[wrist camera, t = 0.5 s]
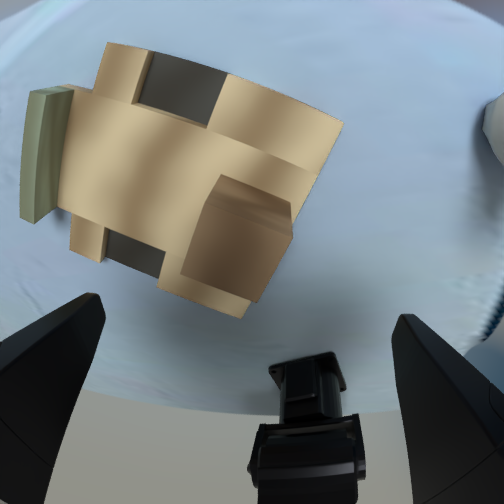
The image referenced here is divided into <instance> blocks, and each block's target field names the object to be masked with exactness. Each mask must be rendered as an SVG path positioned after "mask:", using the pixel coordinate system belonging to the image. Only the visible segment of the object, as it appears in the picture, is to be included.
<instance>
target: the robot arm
mask: <svg viewBox="0 0 504 504" xmlns="http://www.w3.org/2000/svg"><path fill="white" fill-rule="evenodd" d="M105 320H106V315H105V311H104V308H103V305H102V302H101V299H100V296H99V295H98V294H96V293H85V294H83V295H81V296H79V297H77V298H75V299H74V300H72V301H70V302H68V303H66V304H65V305H63V306H61V307H59V308H58V309H56V310H54V311H52V312H51V313H49V314H47V315H45V316H44V317H42V318H40V319H38V320H37V321H35V322H33V323H31V324H30V325H28V326H26V327H25V328H23V329H21V330H19V331H18V332H16V333H14V334H13V335H11V336H9V337H8V338H6V339H4V340H3V341H2V342H0V504H44V501H45V497H46V493H47V489H48V486H49V482H50V479H51V475H52V472H53V468H54V465H55V461H56V458H57V455H58V452H59V449H60V446H61V443H62V440H63V437H64V434H65V431H66V428H67V425H68V423H69V420H70V417H71V414H72V412H73V409H74V406H75V404H76V401H77V398H78V396H79V393H80V390H81V388H82V386H83V383H84V381H85V378H86V376H87V373H88V371H89V368H90V366H91V363H92V361H93V358H94V355H95V352H96V349H97V345H98V342H99V339H100V336H101V333H102V330H103V327H104V324H105ZM391 342H392V351H393V360H394V369H395V380H396V387H397V393H398V398H399V403H400V409H401V414H402V420H403V425H404V432H405V438H406V445H407V452H408V459H409V466H410V475H411V484H412V494H413V504H504V394H503V393H502V392H501V391H500V390H499V389H498V388H497V387H496V386H495V385H494V384H493V383H490V381H489V380H488V379H487V378H486V377H485V376H484V375H483V374H482V373H480V372H479V371H478V370H477V369H476V368H475V367H474V366H473V365H472V364H470V363H469V362H468V361H467V360H466V359H465V358H464V357H463V356H462V355H461V354H459V353H458V352H457V351H456V350H455V349H454V348H453V347H452V346H450V345H449V344H448V343H447V342H446V341H445V340H444V339H442V338H441V337H440V336H439V335H438V334H437V333H435V332H434V331H433V330H432V329H431V328H430V327H428V326H427V325H426V324H425V323H424V322H423V321H421V320H420V319H419V318H418V317H417V316H415V315H414V314H401V315H400V316H399V318H398V320H397V323H396V326H395V328H394V331H393V334H392V338H391ZM269 374H270V375H271V377H272V378H273V380H274V381H275V383H276V384H277V386H278V387H279V389H280V391H281V393H280V420H279V424H260V425H259V429H258V431H257V433H256V438H255V442H254V446H253V450H252V454H251V459H250V462H249V464H248V467H247V471H248V473H250V474H251V476H252V482H253V485H254V487H255V488H258V504H356V502H357V500H358V484H357V481H359V480H365V477H366V463H365V451H364V443H363V437H362V431H361V426H360V420H359V414H358V413H357V414H352V415H350V416H344V417H342V408H341V398H340V392H343V391H345V390H346V383H345V380H344V378H343V375H342V372H341V369H340V366H339V363H338V361H337V358H336V355H335V354H334V353H326V354H322V355H318V356H314V357H310V358H306V359H301V360H297V361H292V362H288V363H283V364H278V365H274V366H270V367H269Z"/></svg>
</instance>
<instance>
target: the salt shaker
mask: <svg viewBox="0 0 504 504" xmlns="http://www.w3.org/2000/svg"><path fill="white" fill-rule="evenodd" d="M482 130H483V132H484V133H485V135H486V137H487V139H488V141H489V143H490V146H491V148H492V150H493V152H494V154H495V156H496V157H497V158H498V159H499V161H500V162H501V163H502V165H503V166H504V93H503V94H501V95H500V96H499V97H498V98H497V99H496V100H494V101H493V102H491V103H489V104H487V105H486V109H485V115H484V121H483V127H482Z"/></svg>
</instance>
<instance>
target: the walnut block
mask: <svg viewBox="0 0 504 504" xmlns="http://www.w3.org/2000/svg"><path fill="white" fill-rule="evenodd" d="M292 239H293V232H292V217H291V203H290V202H289V201H286V200H284V199H282V198H279V197H277V196H275V195H272V194H270V193H267V192H265V191H262V190H260V189H258V188H255V187H253V186H250V185H248V184H245V183H243V182H240V181H238V180H235V179H233V178H230V177H228V176H225V175H223V174H221V175H220V177H219V178H218V180H217V182H216V183H215V185H214V187H213V189H212V190H211V192H210V194H209V195H208V197H207V199H206V201H205V202H204V205H203V208H202V211H201V214H200V216H199V219H198V222H197V225H196V228H195V231H194V234H193V236H192V239H191V242H190V245H189V248H188V251H187V254H186V257H185V260H184V263H183V266H182V269H181V272H180V274H181V275H183V276H186V277H188V278H191V279H194V280H196V281H199V282H201V283H204V284H207V285H209V286H212V287H214V288H217V289H220V290H222V291H225V292H228V293H231V294H233V295H236V296H239V297H241V298H244V299H247V300H250V301H252V302H255V303H257V302H258V300H259V298H260V297H261V295H262V293H263V291H264V289H265V288H266V286H267V284H268V282H269V281H270V279H271V277H272V275H273V273H274V271H275V270H276V268H277V266H278V264H279V262H280V261H281V259H282V257H283V255H284V253H285V251H286V250H287V248H288V246H289V244H290V242H291V240H292Z"/></svg>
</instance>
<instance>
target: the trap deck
mask: <svg viewBox="0 0 504 504" xmlns="http://www.w3.org/2000/svg"><path fill="white" fill-rule="evenodd" d="M343 125H344V123H343V122H342V121H340V120H338V119H336V118H334V117H332V116H330V115H328V114H326V113H324V112H322V111H320V110H318V109H316V108H313V107H311V106H309V105H307V104H305V103H303V102H300V101H298V100H296V99H294V98H291V97H289V96H287V95H284V94H282V93H279V92H277V91H275V90H272V89H270V88H267V87H265V86H262V85H260V84H257V83H254V82H252V81H249V80H246V79H244V78H241V77H238V76H235V75H232V74H230V73H227V72H224V71H221V70H218V69H215V68H212V67H208V66H205V65H202V64H199V63H195V62H192V61H189V60H185V59H182V58H178V57H174V56H171V55H167V54H163V53H159V52H155V51H151V50H146V49H142V48H137V47H133V46H128V45H123V44H118V43H110V42H107V44H106V47H105V50H104V54H103V57H102V60H101V63H100V67H99V70H98V73H97V77H96V80H95V84H94V88H93V90H91V89H87V88H83V87H78V86H74V85H70V84H67V85H61V86H55V87H50V88H44V89H39V90H35V91H30V94H29V99H28V105H27V112H26V118H25V126H24V134H23V144H22V155H21V171H20V218H22V219H24V220H26V221H28V222H30V223H32V224H35V223H37V222H38V221H39V220H40V219H42V218H43V217H44V216H45V215H47V214H48V213H49V212H50V211H52V210H53V209H54V208H56V207H59V208H62V209H64V210H66V211H69V212H71V213H72V217H71V230H70V249H69V250H71V251H74V252H76V253H78V254H80V255H82V256H84V257H87V258H89V259H91V260H93V261H96V262H98V263H101V261H102V260H103V259H104V258H105V257H107V258H110V259H112V260H114V261H117V262H119V263H121V264H124V265H126V266H129V267H131V268H133V269H136V270H138V271H141V272H143V273H145V274H148V275H150V276H153V277H155V278H158V279H159V280H158V283H157V288H160V289H162V290H165V291H167V292H170V293H172V294H175V295H177V296H180V297H182V298H185V299H188V300H190V301H193V302H196V303H198V304H201V305H203V306H206V307H209V308H212V309H214V310H217V311H220V312H223V313H225V314H228V315H231V316H234V317H236V318H239V319H242V317H243V315H244V314H245V312H246V310H247V308H248V306H249V304H250V303H251V301H250V300H247V299H244V298H241V297H239V296H236V295H233V294H231V293H228V292H225V291H222V290H220V289H217V288H214V287H212V286H209V285H207V284H204V283H201V282H199V281H196V280H194V279H191V278H188V277H186V276H183V275H181V274H180V272H181V269H182V266H183V263H184V260H185V257H186V254H187V251H188V248H189V245H190V242H191V239H192V236H193V234H194V231H195V228H196V225H197V222H198V219H199V216H200V214H201V211H202V208H203V205H204V202H205V201H206V199H207V197H208V195H209V194H210V192H211V190H212V189H213V187H214V185H215V183H216V182H217V180H218V178H219V177H220V175H221V174H223V175H225V176H228V177H230V178H233V179H235V180H238V181H240V182H243V183H245V184H248V185H250V186H253V187H255V188H258V189H260V190H262V191H265V192H267V193H270V194H272V195H275V196H277V197H279V198H282V199H284V200H286V201H289V202H290V203H291V217H292V224H293V222H294V220H295V219H296V217H297V215H298V213H299V211H300V209H301V207H302V205H303V203H304V201H305V199H306V197H307V196H308V194H309V192H310V190H311V188H312V186H313V184H314V182H315V180H316V178H317V176H318V174H319V172H320V170H321V168H322V166H323V164H324V162H325V161H326V159H327V157H328V155H329V153H330V151H331V149H332V147H333V145H334V143H335V141H336V139H337V137H338V135H339V133H340V131H341V129H342V127H343Z"/></svg>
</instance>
